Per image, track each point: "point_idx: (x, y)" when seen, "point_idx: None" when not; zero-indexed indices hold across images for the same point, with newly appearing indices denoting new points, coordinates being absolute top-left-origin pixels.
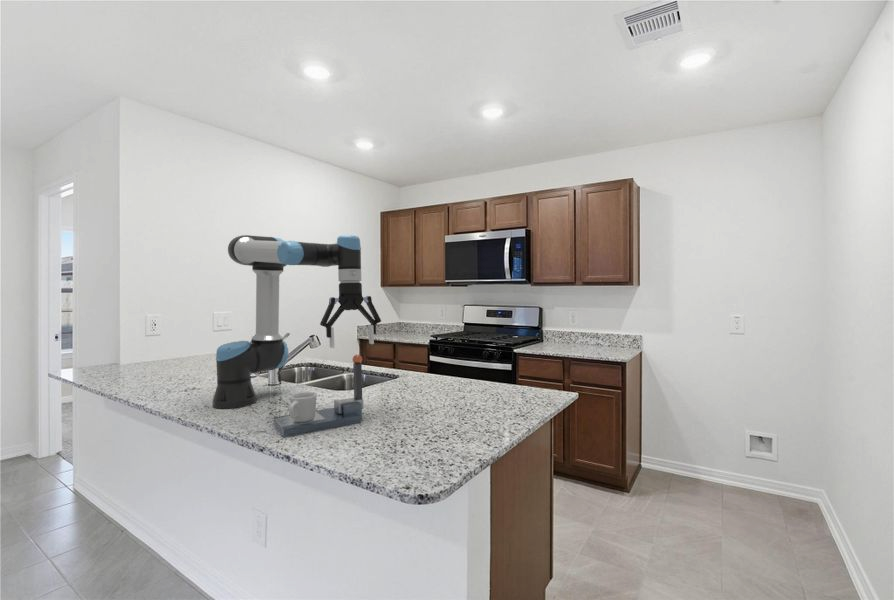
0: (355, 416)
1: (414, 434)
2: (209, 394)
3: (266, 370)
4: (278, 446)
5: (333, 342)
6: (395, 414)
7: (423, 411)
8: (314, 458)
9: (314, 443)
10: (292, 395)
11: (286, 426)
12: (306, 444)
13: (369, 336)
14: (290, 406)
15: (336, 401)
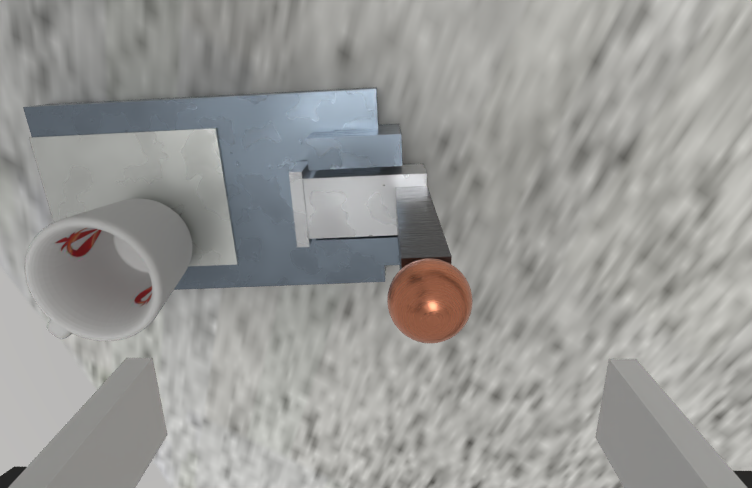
0: (362, 281)
1: (491, 456)
2: None
3: None
4: (82, 348)
5: (131, 479)
6: (555, 237)
7: (675, 262)
8: (180, 474)
9: (191, 378)
10: (36, 252)
11: None
12: (167, 374)
13: (649, 443)
14: (51, 333)
15: (293, 211)
